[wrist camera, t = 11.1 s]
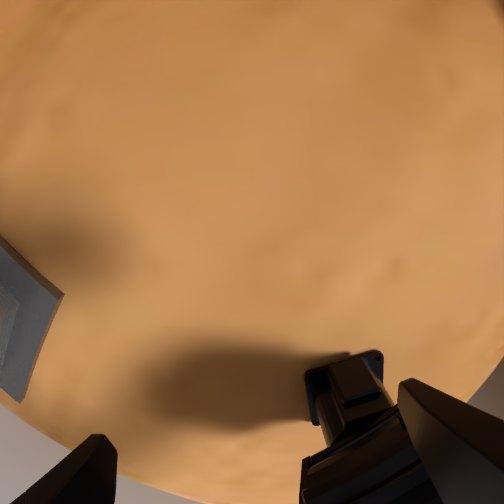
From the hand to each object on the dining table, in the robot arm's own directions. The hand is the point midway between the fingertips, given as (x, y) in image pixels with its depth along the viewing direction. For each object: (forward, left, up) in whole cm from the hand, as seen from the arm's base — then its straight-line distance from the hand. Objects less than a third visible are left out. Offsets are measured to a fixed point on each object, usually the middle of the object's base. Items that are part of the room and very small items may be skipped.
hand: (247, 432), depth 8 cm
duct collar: (+2, +24, -13) cm, 28 cm away
